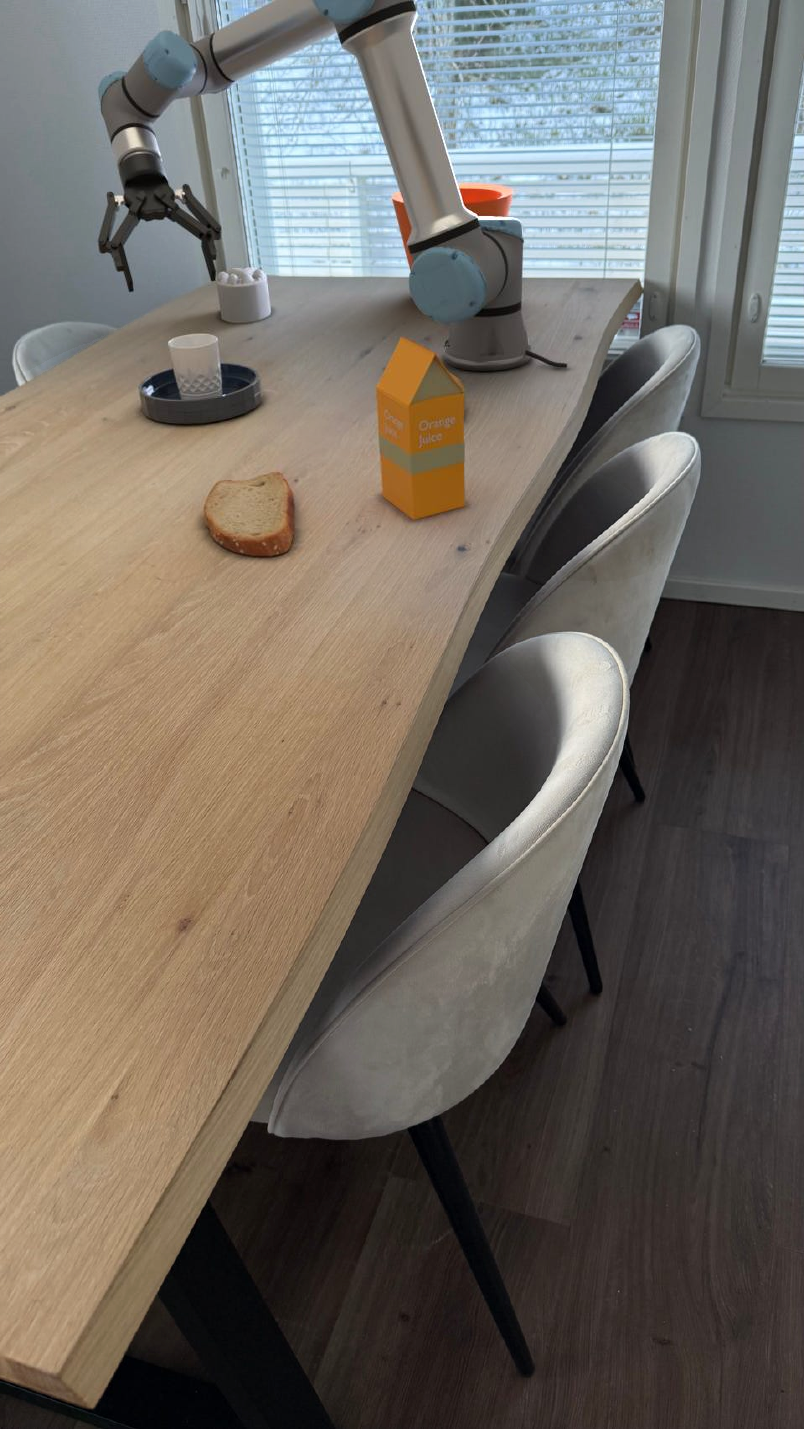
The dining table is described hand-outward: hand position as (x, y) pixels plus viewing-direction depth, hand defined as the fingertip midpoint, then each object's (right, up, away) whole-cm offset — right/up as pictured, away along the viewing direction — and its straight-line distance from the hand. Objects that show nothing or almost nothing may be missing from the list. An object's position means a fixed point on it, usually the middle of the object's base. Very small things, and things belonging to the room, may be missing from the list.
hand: (172, 282), depth 163 cm
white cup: (+5, -19, +2) cm, 20 cm away
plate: (+5, -20, +2) cm, 20 cm away
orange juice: (+40, -43, -33) cm, 68 cm away
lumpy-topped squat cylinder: (+5, +14, +48) cm, 50 cm away
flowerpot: (+49, +20, +53) cm, 74 cm away
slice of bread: (+19, -46, -35) cm, 61 cm away
